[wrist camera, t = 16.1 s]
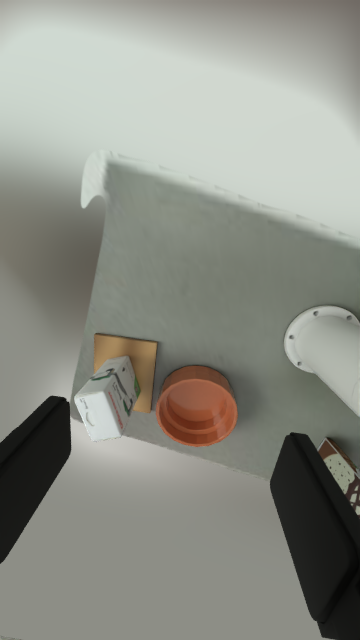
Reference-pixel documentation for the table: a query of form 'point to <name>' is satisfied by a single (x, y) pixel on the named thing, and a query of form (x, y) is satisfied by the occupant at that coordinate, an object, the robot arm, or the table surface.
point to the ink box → (108, 399)
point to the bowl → (196, 406)
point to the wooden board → (141, 360)
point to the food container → (342, 471)
